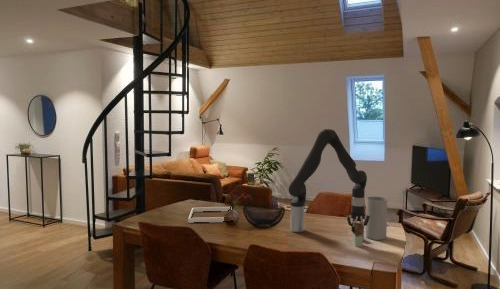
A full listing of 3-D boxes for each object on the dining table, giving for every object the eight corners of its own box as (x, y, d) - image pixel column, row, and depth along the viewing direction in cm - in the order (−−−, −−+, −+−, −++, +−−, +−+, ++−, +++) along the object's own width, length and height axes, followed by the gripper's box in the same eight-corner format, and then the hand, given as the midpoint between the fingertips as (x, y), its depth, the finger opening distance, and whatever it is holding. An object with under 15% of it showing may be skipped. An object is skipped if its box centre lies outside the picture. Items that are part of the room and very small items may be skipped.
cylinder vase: (361, 236, 228) (362, 198, 226) (372, 232, 236) (373, 195, 234) (379, 241, 218) (379, 201, 216) (390, 237, 226) (391, 198, 224)
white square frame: (188, 222, 260) (188, 218, 260) (192, 211, 292) (192, 207, 292) (232, 221, 262) (232, 217, 262) (231, 210, 294) (231, 206, 294)
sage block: (355, 246, 210) (355, 236, 210) (352, 244, 215) (352, 234, 214) (362, 246, 211) (362, 236, 210) (359, 243, 215) (359, 234, 215)
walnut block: (355, 234, 210) (355, 224, 209) (352, 232, 214) (352, 222, 214) (362, 234, 210) (362, 224, 210) (359, 232, 215) (360, 222, 214)
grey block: (357, 241, 219) (357, 232, 219) (353, 239, 223) (353, 229, 223) (363, 240, 220) (363, 231, 220) (359, 238, 225) (359, 229, 224)
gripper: (348, 206, 207) (348, 234, 208) (372, 205, 208) (371, 234, 209) (344, 203, 214) (343, 230, 215) (367, 202, 215) (366, 230, 216)
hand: (357, 232), depth 212 cm, fingers closed on walnut block, 4 cm apart
